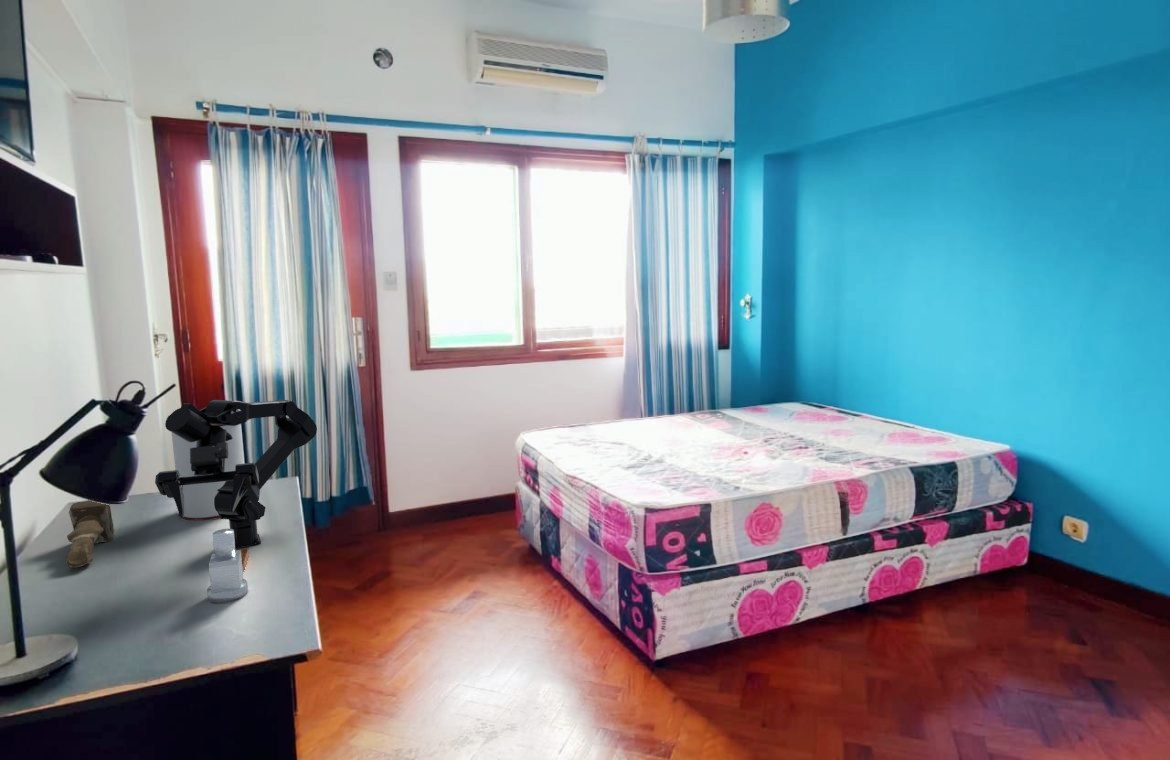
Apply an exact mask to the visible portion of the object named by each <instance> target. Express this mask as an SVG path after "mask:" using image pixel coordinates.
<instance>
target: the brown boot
mask: <svg viewBox="0 0 1170 760" xmlns="http://www.w3.org/2000/svg"><path fill="white" fill-rule="evenodd" d="M68 514H69V515H68V516H69V518H70V522H71V525H72V528H73V530H72V531H71V532H70V533H68V534H67V535H66V538H67V541H68V542H70V543H72V544H71V546H70V547H69V549H68V554H67V556H66V560H65V562H66V563H65V564H66V566H67V567H68V568H79V567H83V566H85V565H87V564H89V563H91V562H93V557H92V555H93V553H94V551H95V549H94V548H95V547H94V545H95V544H98V543H97V542H105V543H108V541H109V542H111V541H112V540H113V537H114V534H115V529H114V520H113V517H112V511H111V505H110V504H109V505H106V504H101V503H97V502H92V501H89V500H84V501H83V500H82V501H78V502H77V501H76V502H74V503H72V504H71V506H70V508H69V511H68ZM110 540H111V541H110ZM93 543H94V544H93Z"/></svg>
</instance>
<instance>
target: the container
mask: <svg viewBox="0 0 1170 760" xmlns="http://www.w3.org/2000/svg"><path fill="white" fill-rule="evenodd" d="M213 426H214V425H213ZM217 426H220V427H221V428H223V429H226V431H227V432H228V433H229V434H231V436H232V439H231V440H229V441H226V442H227V443H228V458H225V471H224V472H229V471H235V466H236V464H245V463H246V462H245V452H244V442H243V441H244V440H243V432H242V429H243V428H242V424H239V425H236V426H227V425H217ZM171 441H172V450H173V459H174V469H175V470H178V471H179V473H180V475H181V476H186V475H194V471H192V470H191V464H190V448H195V447H196V441H195V442H188V441H186V440H184V439H182V438H181V437H179V436H177V435H176V434H174V433H172V432H171ZM225 482H226V481H222V482H213V483H200V484H191V485H183V491H182V492H183V494H184V516H183V518H181V519H183V520H188V521H205V520H206V521H207V520H214V519H215V518H216V519H221V518H220V516H219V514H218V512H217V511H216V509H215V506H214V498H215V496H216V495H217V493H218V492H219V491H217V490H218V489H220V488H221V487H222V486H223V485H224V484H225ZM178 517H180V515H179V514H178Z"/></svg>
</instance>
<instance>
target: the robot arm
mask: <svg viewBox="0 0 1170 760" xmlns="http://www.w3.org/2000/svg"><path fill="white" fill-rule="evenodd" d="M271 417H272V418H273V417H274V422H275V425H276V427H277V428H278V429H277V436H276V440H275V441H274V442H273V443H272V444H271V445H270V447H268V449H267V450H265V452H263V454H262V455H261V456H260V457H259V459H257V461H256V462H255V463H254V462H247V463H246V462H244V463H245V464H236V466H235V471H229V472H224V471H225V458H228V443H227V442H226V441H229V440H231V439H232V436H231V434H229V433H228V432H227V431H226V429H223V428H221V427H220V426H217V425H227V426H236V425H239V424H241V425H242V424H245V423H247V422H248V421H249V420H252V419H260V418H271ZM213 425H214V426H213ZM164 427H165V429H166V430H167V431H169V432H171V434H172V433H174V434H176V435H177V436H179V437H181V438H182V439H184V440H186V441H188V442H195V441H196V447H195V448H190V464H191V470H192V471H194V475H186V476H181V475H180V473H179V471H178V470H165V471H163V470H162V471H159V472H158V473H157V474H156V475H155V480H154V483H155V485H156V488H157V490H158V492H159V494H160V495H161V496H167V498H168V499H169V498H170V499H173V500H174V503H175V506H176V509H177V511H178V516H179V515H180V516H179V518H180V519H182V518H183V516H184V494H183V492H182V491H183V485H191V484H200V483H213V482H222V481H226V482H225V484H224V485H223V486H222V487H221V488H220V489H218V490H217V491H219V492H218V493H217V495H216V496H215V498H214V506H215V509H216V511H217V512H218V514H219V516H220V518H219V519H221V520H228V523H229V525H228V526H229V529H233V530H234V540H235V549H241V548H245V547H250V546H255V545H260V544H261V543H262V540H261V537H260V534H259V532H258V524H257V523H258V522H257V521H258V520H261V518H263V517H264V516H265V513H266V506H265V505H263V504H262V503H261V502H260V501H259V500H260V495H261V489H262V488H263V487H264V485H266V484H267V482H268V481H269V479H271V477H273V475H274V474H275V473H276V472H277V470H278V469H279V468H281V467H280V466H281V465H283V464H284V462H285V461H286V460H287V459H288V457H289V456H290V455H291V454H292V453H293V452H294V451H295V450H296V449H299V448H301V447H304V446H305V445H307V444H308V443H309V442H311V441H312V440H313V439H314V438H315V437H316V434H317V431H318V427H317V424H316V423H315V421H314V420H313V419H312V418H311V416H310V415H309V414H308V413H306V411H303V410H302V409H301V408H300V407H298V405H297V404H296V403H295V402H294V401H292V400H290V399H275V400H270V401H269V400H267V401H253V402H246V401H245V402H244V401H240V400H223V399H221V400H220V399H214V400H210V401H208V403H207V405H206V406H205V407H202V408H201V409H198V408H197V407H196V406H195V405H194V404H192V403H182V405H181V407H179V408H177V409H175V410H174V411H173V412H172V413H171V414H170V415H168V416H167V417H166V419H165V423H164Z"/></svg>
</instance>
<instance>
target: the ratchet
mask: <svg viewBox="0 0 1170 760" xmlns="http://www.w3.org/2000/svg"><path fill="white" fill-rule="evenodd" d="M237 550H241V559H242V572H244V573H245V571H246V569H245V567H246V568H247V566H246V565H248V562H247V561H249V559H248V558H250V552H249V548H248V547H247V548H245V547H244V548H237V549H235V551H237ZM244 570H245V571H244ZM248 594H249V586H248V580H246V579H245V578H243V580H242V584H241V588H240V589H235V590H228V591H222V592H215V593H211V585H209V586H208V587H207V589H206V595H207V602H209V603H210V604H214V605H221V604H222V605H223V604H228V603H233V602H236V601H238V600H241V599H243V598H245V597H246V596H247V595H248Z"/></svg>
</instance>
